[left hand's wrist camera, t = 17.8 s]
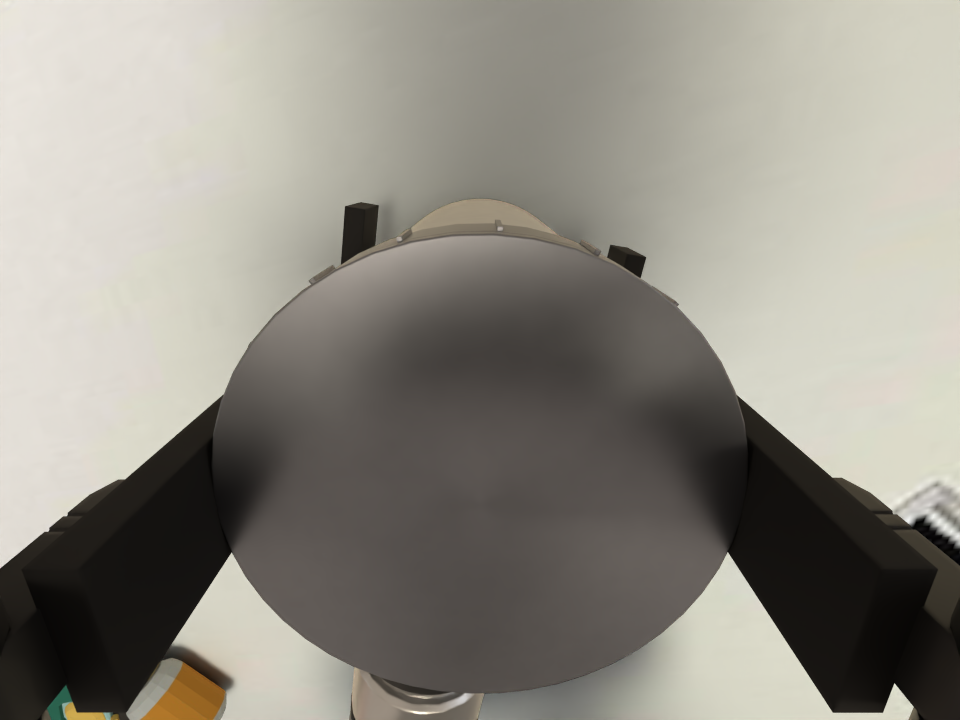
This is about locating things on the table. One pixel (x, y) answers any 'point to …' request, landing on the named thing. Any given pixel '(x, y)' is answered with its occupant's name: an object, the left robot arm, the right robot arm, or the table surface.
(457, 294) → the lid
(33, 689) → the left robot arm
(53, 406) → the table surface
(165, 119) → the table surface
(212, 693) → the spray gun
